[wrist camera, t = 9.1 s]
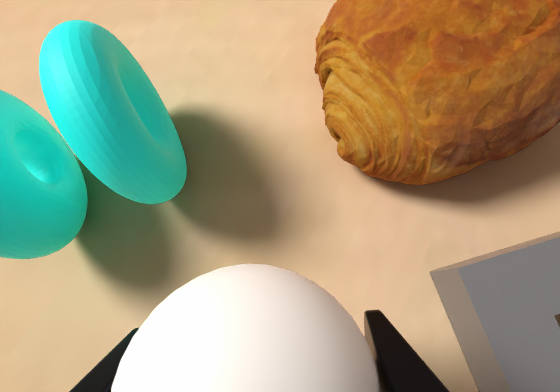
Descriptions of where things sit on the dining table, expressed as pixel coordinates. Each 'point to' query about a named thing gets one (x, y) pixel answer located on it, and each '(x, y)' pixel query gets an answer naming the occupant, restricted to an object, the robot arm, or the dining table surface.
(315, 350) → the lightbulb
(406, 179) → the croissant
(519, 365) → the socket block
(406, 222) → the dining table surface
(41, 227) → the cyan rounded piece
